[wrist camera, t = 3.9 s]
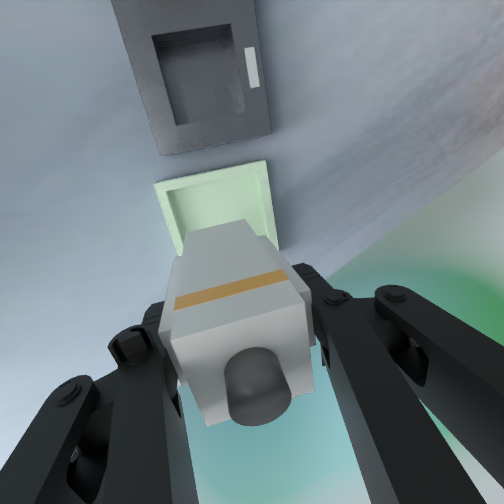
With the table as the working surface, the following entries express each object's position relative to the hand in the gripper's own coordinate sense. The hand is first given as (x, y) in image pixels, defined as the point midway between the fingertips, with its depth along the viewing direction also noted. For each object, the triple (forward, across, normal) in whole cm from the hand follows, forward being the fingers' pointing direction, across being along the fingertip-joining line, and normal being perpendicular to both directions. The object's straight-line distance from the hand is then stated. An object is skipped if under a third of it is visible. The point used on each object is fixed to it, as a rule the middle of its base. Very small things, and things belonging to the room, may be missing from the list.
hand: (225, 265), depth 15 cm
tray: (+11, +1, 0) cm, 11 cm away
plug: (+2, 0, 0) cm, 2 cm away
